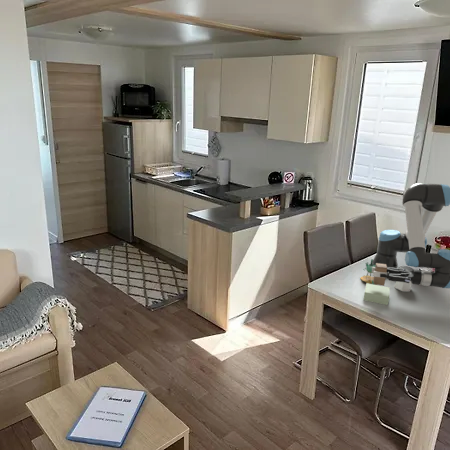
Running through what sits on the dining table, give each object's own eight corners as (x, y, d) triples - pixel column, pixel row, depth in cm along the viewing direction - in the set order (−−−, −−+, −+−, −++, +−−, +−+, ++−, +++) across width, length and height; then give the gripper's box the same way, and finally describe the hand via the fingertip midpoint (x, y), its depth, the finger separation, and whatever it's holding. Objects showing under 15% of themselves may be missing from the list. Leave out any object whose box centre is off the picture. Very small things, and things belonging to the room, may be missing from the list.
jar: (407, 285, 236) (411, 266, 232) (413, 291, 228) (417, 271, 224) (392, 284, 236) (395, 265, 232) (397, 291, 228) (401, 271, 224)
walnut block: (373, 280, 220) (375, 263, 217) (383, 281, 219) (386, 264, 216) (374, 284, 215) (377, 266, 212) (384, 285, 214) (387, 267, 211)
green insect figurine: (360, 286, 232) (363, 261, 229) (359, 277, 249) (362, 253, 246) (378, 289, 229) (382, 263, 226) (376, 280, 246) (379, 256, 243)
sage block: (365, 291, 227) (366, 283, 225) (388, 296, 223) (389, 287, 221) (363, 300, 216) (364, 292, 215) (387, 305, 212) (389, 296, 211)
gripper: (422, 291, 204) (373, 285, 208) (415, 277, 220) (370, 271, 225) (425, 277, 201) (375, 271, 206) (418, 264, 218) (372, 258, 223)
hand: (372, 271), depth 216 cm, fingers closed on walnut block, 5 cm apart
